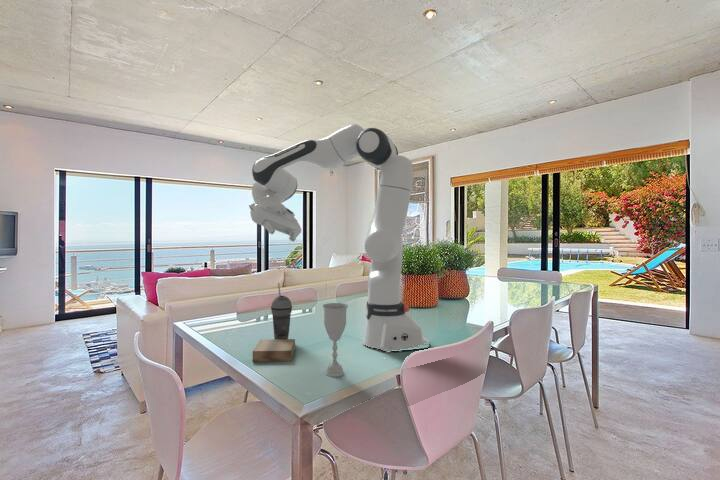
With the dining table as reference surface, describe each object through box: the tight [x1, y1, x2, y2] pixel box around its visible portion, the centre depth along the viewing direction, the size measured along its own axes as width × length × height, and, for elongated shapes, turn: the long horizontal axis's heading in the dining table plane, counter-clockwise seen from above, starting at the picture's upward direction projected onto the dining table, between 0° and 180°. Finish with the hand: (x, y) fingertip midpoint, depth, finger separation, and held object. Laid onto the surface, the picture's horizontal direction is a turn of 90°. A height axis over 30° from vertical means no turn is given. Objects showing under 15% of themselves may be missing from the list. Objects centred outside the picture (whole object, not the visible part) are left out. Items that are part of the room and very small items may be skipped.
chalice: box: [322, 302, 349, 378], centre depth 92 cm, size 7×7×18 cm
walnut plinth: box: [252, 338, 296, 362], centre depth 105 cm, size 11×11×3 cm
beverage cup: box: [270, 282, 293, 339], centre depth 119 cm, size 7×7×20 cm
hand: (283, 236), depth 119 cm, fingers open, 8 cm apart
